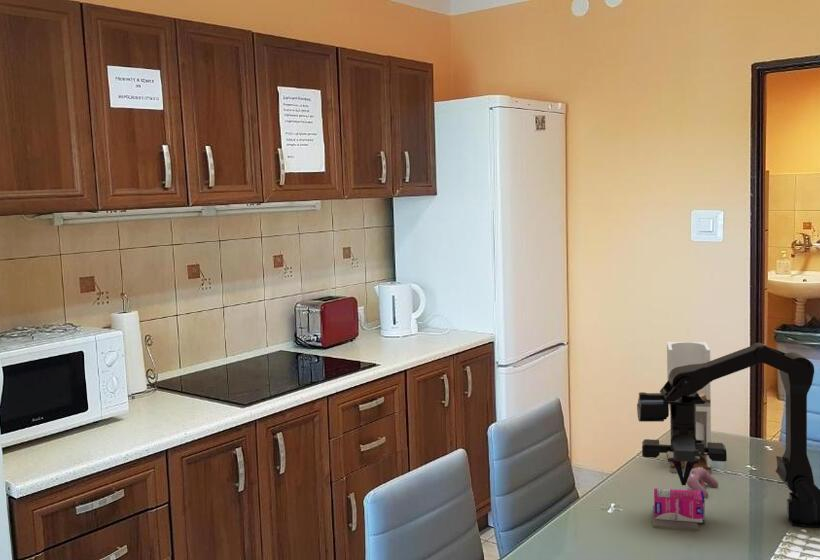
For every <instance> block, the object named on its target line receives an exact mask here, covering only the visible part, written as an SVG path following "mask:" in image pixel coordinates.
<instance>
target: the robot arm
mask: <svg viewBox="0 0 820 560" xmlns="http://www.w3.org/2000/svg"><path fill="white" fill-rule="evenodd" d="M758 364H759V365H760V364H765V365H768V366H770V367H772V368H774V369H777V371H779V374H780V380H781V382H782V385H783V388H784V392H785V450H784V453H783V454H782V456H778V455H776V457H775V458H776V465H777V466H776V467H777V468H776V470H775V473H776V474H777V475H778V477H779V479H780V480H781V481H782V483H783V484H784V485H785V486H786V487H787V488H788V490H790V491H791V492H789V493H788V498H787V499H786V516H787V519H788V520H789V521H790V524H791V526H795V527H808V528H809V527H810V528H820V488H819V486H817V485H816V483H815V480H814V473H813V468H812V466H811V463H810V460H809V457H808V453H807V451H808V443H807V442H808V440H807V439H808V435H807V434H808V429H807V428H808V393H809V391H810V389H811V387H812V385H813V381H814V375H815V366H814V364H813V362H812V361H810V360H809V359H808V358H806V357H805V356H803V355H801V354H800V353H797V352H786V353H785V352H783V351H781V350H778V349H775V348H773V347H769V346H767V345H766V344H763V343H762V342H756V343H753V344H751V345H749V346H747V347H745V348H742V349H739V350H737V351H733V352H732V353H731V352H730V353H728V354H725V355H723V356H721V357H720V356H719V357H717V358H714V359H713V360H710V361H709V362H706V363H702V364H692V365H686V366H680V367H676V368H674V369H672V370H671V372H670V374H669V378H668V381H666V382H665V384H664V385H663V387H661V389H660V390H659V392H656V393H655V392H652V393H650V392H649V393H648V392H638V399H637V403H636V412H637V420H638V422H650V423H652V422H653V423H654V422H658V423H659V422H662V423H663V422H664V421H665V420H667V418H669V415H670V418H669V419H670V422H669V423H670V444H660V440H659V439H645V438H644V439H643V441H642V442H641V443H642V446H641V447H642V449H641V450H642V451H641V453H642V454H641V456H642V457H643V458H653V459H654V458H655V459H656V458H657V457H659V456H660V453H662V454H663V453H664V454H666V457H667V458H666V459H667V461H668V463H669V462H672V463H673V464H674V466H675V468H676V470H677V472H678V473H677V475H678V478H679V481H680V484H681V486H686V485H687V480H688V477H689V474H690V472H691V470H692V468H693V466H694V465H695V464H696V463H700V456H704V455H709V458H710V459H711V462H727V461H728V459H727V458H728V457H727V454H728V453H727V448H726V445H725V444H724V443H723V442H712V441H711V442H707V447H704V440H696V404H705V401H704V400H703V399H702V398H701V397H700V396H699V394H698V393H697V391H699V390H701V389H702V388H704V387H705V386H706V385H707V384H709V383H710V384H711V383H712V382H713V381H716V380H719V379H720V378H723V377H727V376H728V375H731V374H735V373H737V372H740V371H743V370H745V369H748V368H750V367H754V366H756V365H758ZM669 404H670V409H669ZM681 461H685V468H684V473H683V472H682V465H681Z"/></svg>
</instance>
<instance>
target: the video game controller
mask: <svg viewBox="0 0 820 560" xmlns="http://www.w3.org/2000/svg"><path fill="white" fill-rule="evenodd" d="M706 484H707V486H709V487H712V488H716V489H717V488H718V487H719V482H718V480H717V479H716V478H715V477H714V476H712V474H709V473H708V472H707V471H706V470H705V469H703V467H701V468H699V467H698V468H693V469H692V470H691V472H690V474H689V477H688V480H687V483H686V485H687V487H688V488H689V489H691V491H703V492H704V499H707V498H708V497H709V493H708V491H707V489H706Z"/></svg>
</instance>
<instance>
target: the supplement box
mask: <svg viewBox="0 0 820 560" xmlns="http://www.w3.org/2000/svg"><path fill="white" fill-rule="evenodd" d="M705 499H706V498H704V492H703V491H693V490H692V489H691V490H689V489H688V490H686V489H671V488H653V505H654V514H655V519H660V520H674V521H688V522H698V523H701V524H702V523H703V524H705V523H706V518H705V517H706V511H705V510H706V509H705V508H706V507H705V502H706V501H705Z"/></svg>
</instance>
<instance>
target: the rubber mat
mask: <svg viewBox="0 0 820 560" xmlns="http://www.w3.org/2000/svg"><path fill="white" fill-rule="evenodd" d="M652 528H653V529H654V528H655V529H668V530H682V531H692V532H693V531H694V532H699V522H688V521H674V520H660V519H655V514H654V504H653V505H652Z"/></svg>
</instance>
